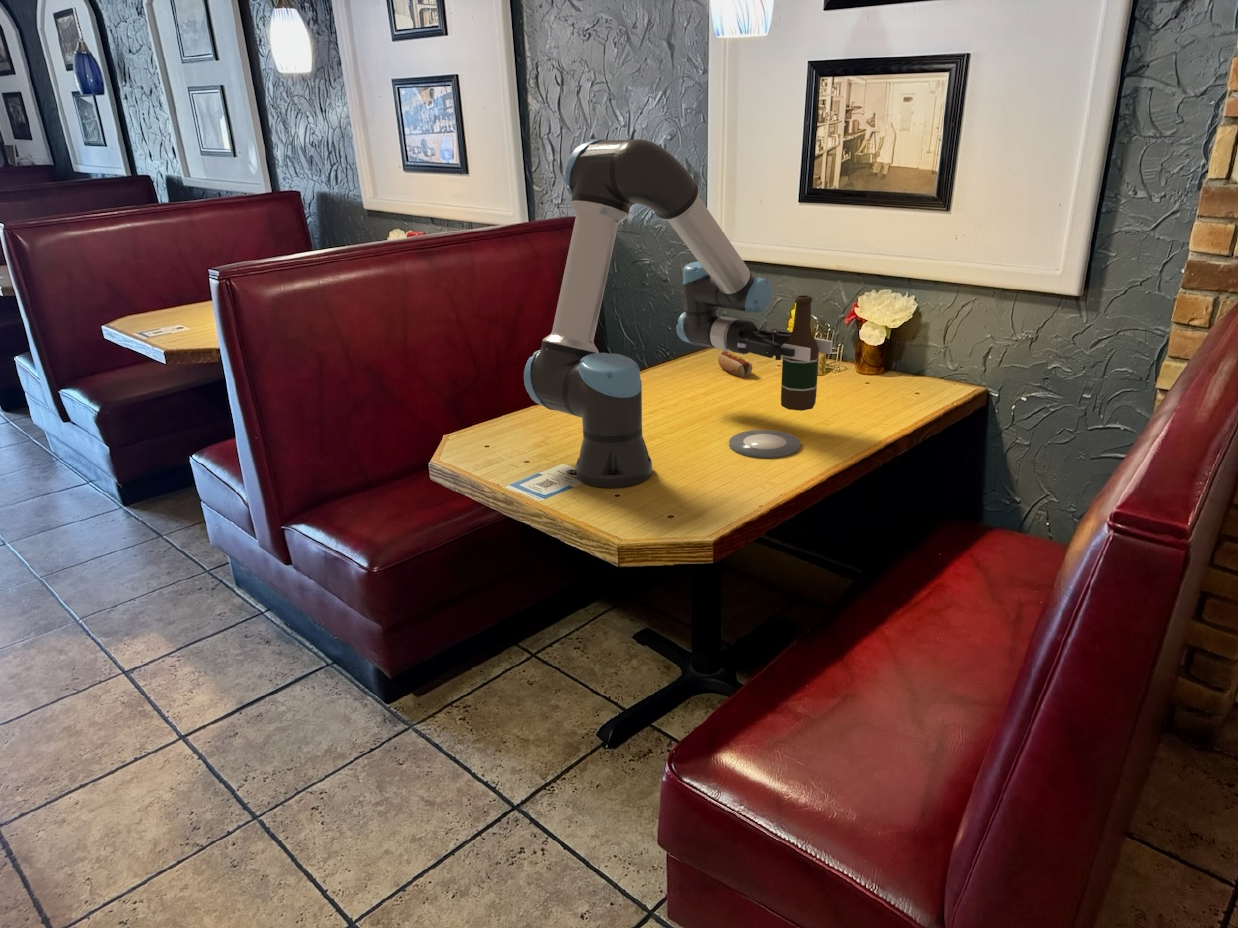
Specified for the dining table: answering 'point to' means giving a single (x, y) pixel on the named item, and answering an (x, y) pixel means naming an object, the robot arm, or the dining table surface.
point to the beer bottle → (800, 362)
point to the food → (734, 364)
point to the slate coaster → (764, 444)
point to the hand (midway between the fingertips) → (820, 351)
